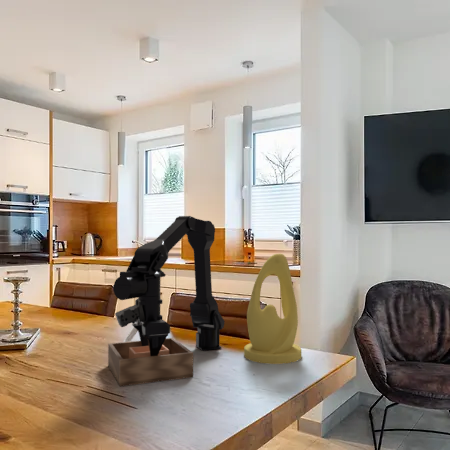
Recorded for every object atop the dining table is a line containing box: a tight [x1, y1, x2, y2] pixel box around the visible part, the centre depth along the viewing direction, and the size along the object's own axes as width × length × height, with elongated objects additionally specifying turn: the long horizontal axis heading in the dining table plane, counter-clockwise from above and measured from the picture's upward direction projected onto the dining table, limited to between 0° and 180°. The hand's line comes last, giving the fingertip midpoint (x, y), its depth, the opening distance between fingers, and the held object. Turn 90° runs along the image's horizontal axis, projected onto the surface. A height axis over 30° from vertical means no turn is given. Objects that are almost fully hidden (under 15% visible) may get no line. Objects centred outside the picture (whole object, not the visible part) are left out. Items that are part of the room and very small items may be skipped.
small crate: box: [129, 345, 169, 359], centre depth 117 cm, size 9×6×5 cm
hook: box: [123, 326, 138, 342], centre depth 132 cm, size 8×12×7 cm
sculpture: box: [243, 253, 302, 365], centre depth 133 cm, size 17×17×30 cm
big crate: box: [107, 337, 194, 387], centre depth 117 cm, size 18×18×6 cm
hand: (149, 355), depth 117 cm, fingers open, 9 cm apart
